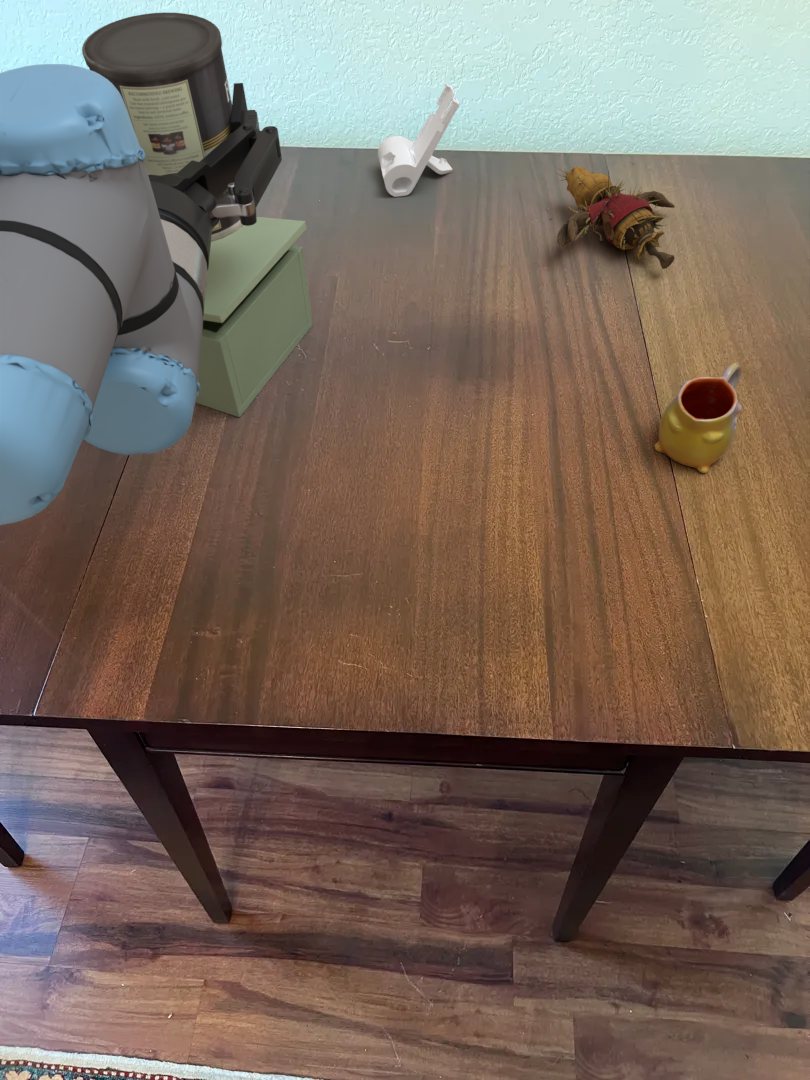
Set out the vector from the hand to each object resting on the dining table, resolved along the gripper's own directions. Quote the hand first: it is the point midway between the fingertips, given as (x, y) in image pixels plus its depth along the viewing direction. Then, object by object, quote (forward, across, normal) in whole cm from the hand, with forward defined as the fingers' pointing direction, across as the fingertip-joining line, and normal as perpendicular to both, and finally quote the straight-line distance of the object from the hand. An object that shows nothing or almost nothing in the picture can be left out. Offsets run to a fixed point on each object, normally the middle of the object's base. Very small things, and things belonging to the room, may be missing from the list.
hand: (178, 103), depth 66 cm
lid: (-2, -1, -15) cm, 15 cm away
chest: (-1, -1, -26) cm, 26 cm away
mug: (-19, +47, -26) cm, 57 cm away
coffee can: (-4, 0, -8) cm, 9 cm away
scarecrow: (+15, +46, -26) cm, 55 cm away
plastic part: (+31, +23, -26) cm, 47 cm away
